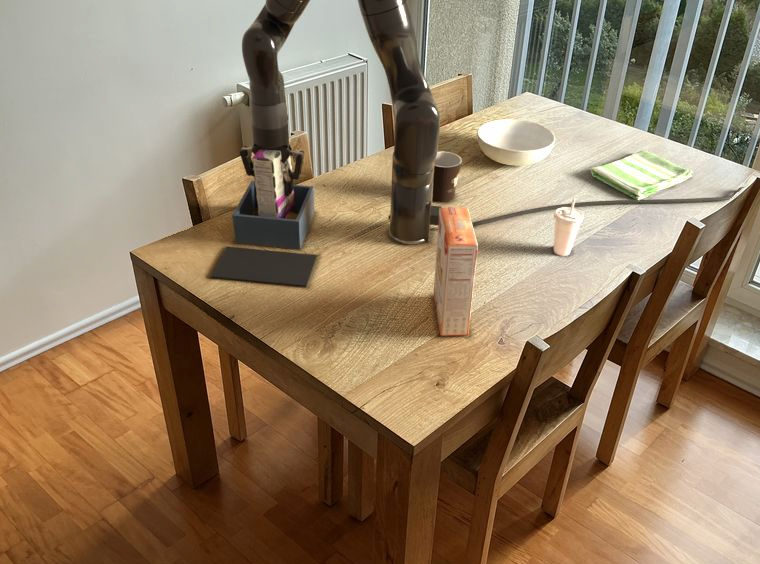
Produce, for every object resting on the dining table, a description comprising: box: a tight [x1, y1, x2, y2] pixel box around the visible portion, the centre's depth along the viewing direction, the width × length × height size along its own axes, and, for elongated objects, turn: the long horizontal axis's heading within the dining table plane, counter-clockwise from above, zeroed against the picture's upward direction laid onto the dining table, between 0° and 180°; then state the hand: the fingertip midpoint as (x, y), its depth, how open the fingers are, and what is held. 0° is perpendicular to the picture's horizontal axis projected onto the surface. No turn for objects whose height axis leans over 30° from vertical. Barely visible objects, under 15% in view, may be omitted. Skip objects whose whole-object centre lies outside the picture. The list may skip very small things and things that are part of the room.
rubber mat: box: [210, 246, 318, 288], centre depth 171 cm, size 20×12×1 cm, turn 85°
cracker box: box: [433, 206, 479, 337], centre depth 154 cm, size 14×6×21 cm, turn 5°
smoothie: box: [553, 196, 584, 257], centre depth 178 cm, size 6×6×14 cm
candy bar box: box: [251, 138, 295, 219], centre depth 177 cm, size 11×5×16 cm, turn 168°
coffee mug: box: [433, 150, 463, 204], centre depth 198 cm, size 12×9×10 cm
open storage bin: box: [231, 180, 315, 250], centre depth 182 cm, size 15×17×7 cm
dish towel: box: [590, 149, 694, 200], centre depth 214 cm, size 18×23×3 cm
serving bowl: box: [476, 118, 556, 167], centre depth 218 cm, size 21×21×7 cm
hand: (275, 193), depth 179 cm, fingers closed on candy bar box, 5 cm apart
